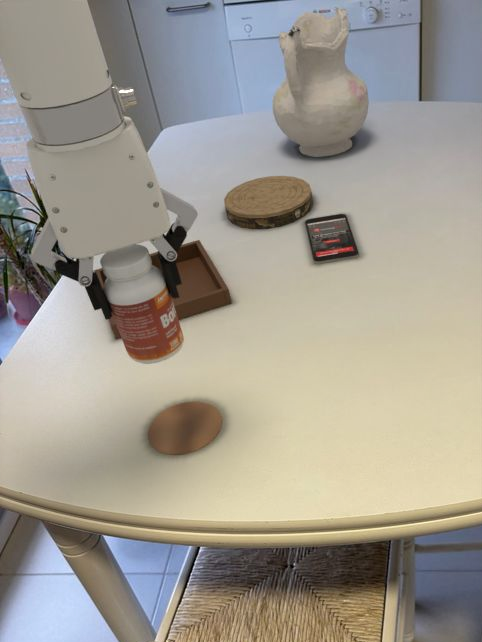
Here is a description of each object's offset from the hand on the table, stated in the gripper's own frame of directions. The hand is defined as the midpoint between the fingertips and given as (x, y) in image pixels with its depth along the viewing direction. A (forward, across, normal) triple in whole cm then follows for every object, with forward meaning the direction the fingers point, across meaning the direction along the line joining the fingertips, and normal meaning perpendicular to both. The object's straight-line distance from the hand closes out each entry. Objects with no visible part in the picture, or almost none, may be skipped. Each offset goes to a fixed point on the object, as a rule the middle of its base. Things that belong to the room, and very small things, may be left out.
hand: (140, 300), depth 65 cm
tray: (+18, -4, -32) cm, 37 cm away
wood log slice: (+19, -28, -50) cm, 60 cm away
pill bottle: (+6, 0, 0) cm, 6 cm away
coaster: (+18, 0, 0) cm, 18 cm away
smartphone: (+18, -33, -33) cm, 50 cm away
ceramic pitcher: (+19, -47, -70) cm, 86 cm away
